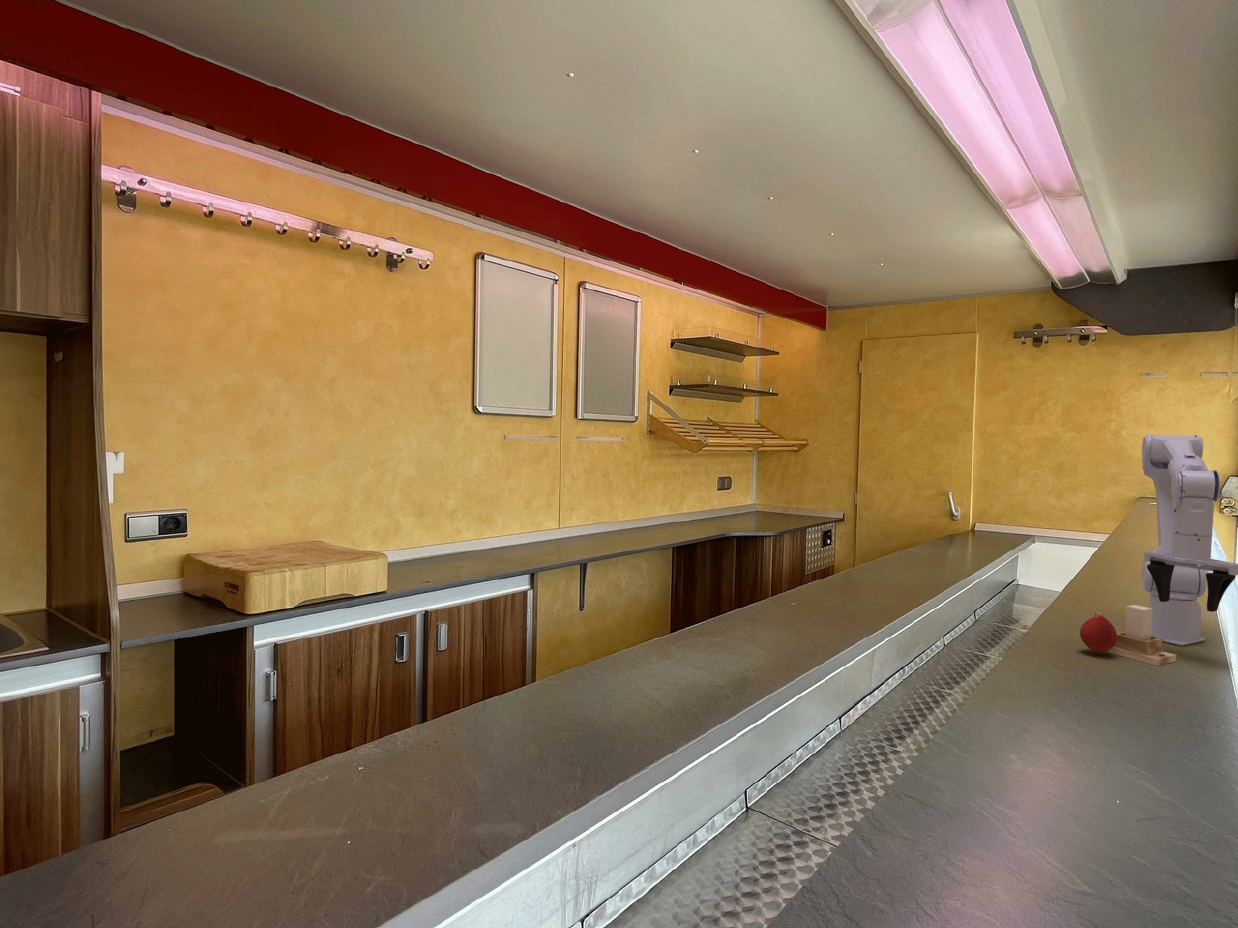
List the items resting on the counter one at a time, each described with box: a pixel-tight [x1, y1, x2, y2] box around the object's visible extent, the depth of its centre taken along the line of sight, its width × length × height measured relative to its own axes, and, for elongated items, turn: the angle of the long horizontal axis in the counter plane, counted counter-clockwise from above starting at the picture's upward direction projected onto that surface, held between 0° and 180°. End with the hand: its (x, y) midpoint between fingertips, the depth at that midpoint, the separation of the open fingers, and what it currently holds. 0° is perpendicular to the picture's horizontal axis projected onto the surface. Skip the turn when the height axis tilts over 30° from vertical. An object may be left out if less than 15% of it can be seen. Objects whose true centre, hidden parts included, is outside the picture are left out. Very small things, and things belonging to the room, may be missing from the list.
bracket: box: [1105, 631, 1177, 667], centre depth 132 cm, size 6×10×4 cm, turn 27°
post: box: [1124, 604, 1153, 641], centre depth 132 cm, size 3×3×8 cm
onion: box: [1079, 611, 1118, 655], centre depth 132 cm, size 6×6×8 cm
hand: (1187, 605), depth 131 cm, fingers open, 7 cm apart
